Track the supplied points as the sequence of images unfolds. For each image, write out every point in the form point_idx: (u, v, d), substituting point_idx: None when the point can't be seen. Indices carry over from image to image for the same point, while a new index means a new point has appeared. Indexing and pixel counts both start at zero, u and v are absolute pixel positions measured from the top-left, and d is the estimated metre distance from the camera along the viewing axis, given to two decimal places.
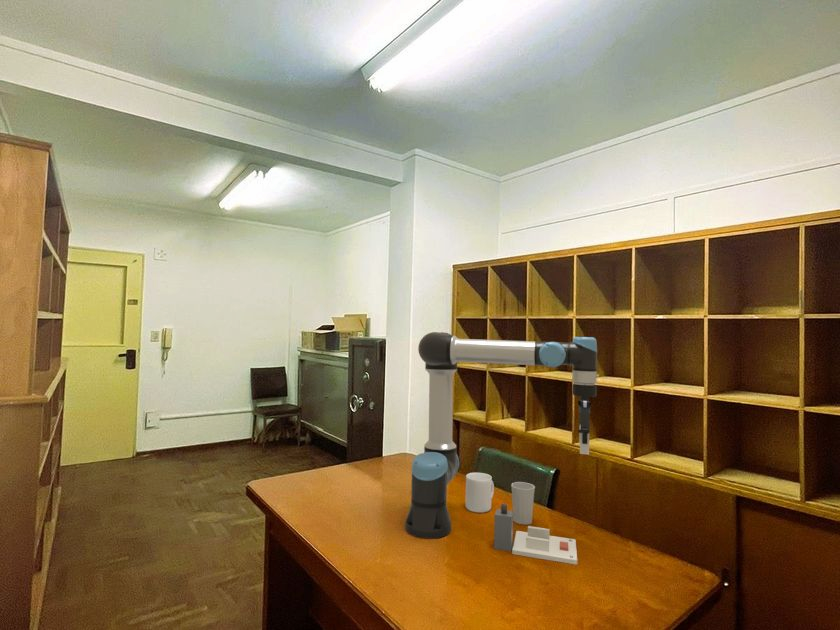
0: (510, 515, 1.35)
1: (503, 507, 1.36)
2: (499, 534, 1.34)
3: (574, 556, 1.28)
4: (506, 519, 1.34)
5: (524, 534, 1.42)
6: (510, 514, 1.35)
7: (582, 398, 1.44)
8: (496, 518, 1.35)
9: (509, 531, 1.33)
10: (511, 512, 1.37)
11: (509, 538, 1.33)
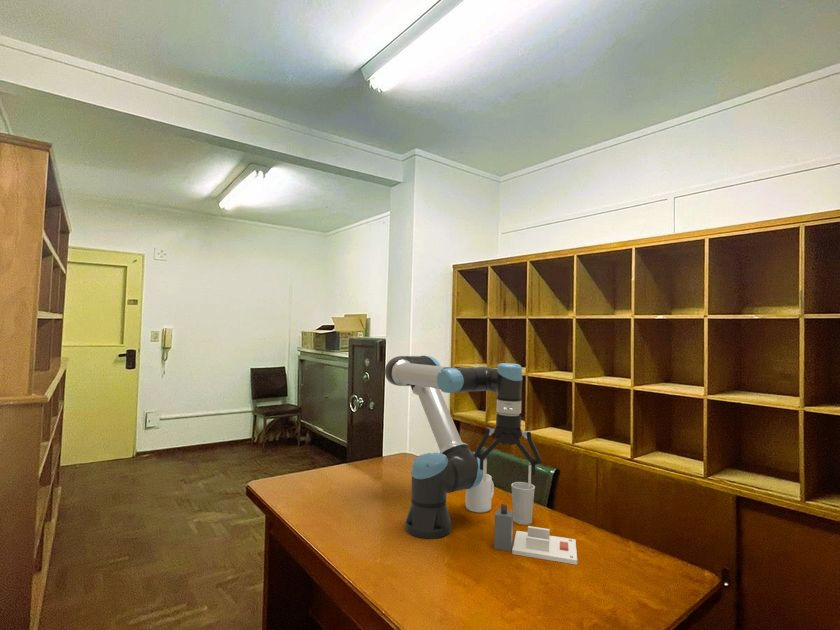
0: (510, 515, 1.35)
1: (503, 507, 1.36)
2: (499, 534, 1.34)
3: (574, 556, 1.28)
4: (506, 519, 1.34)
5: (524, 534, 1.42)
6: (510, 514, 1.35)
7: None
8: (496, 518, 1.35)
9: (509, 531, 1.33)
10: (511, 512, 1.37)
11: (509, 538, 1.33)
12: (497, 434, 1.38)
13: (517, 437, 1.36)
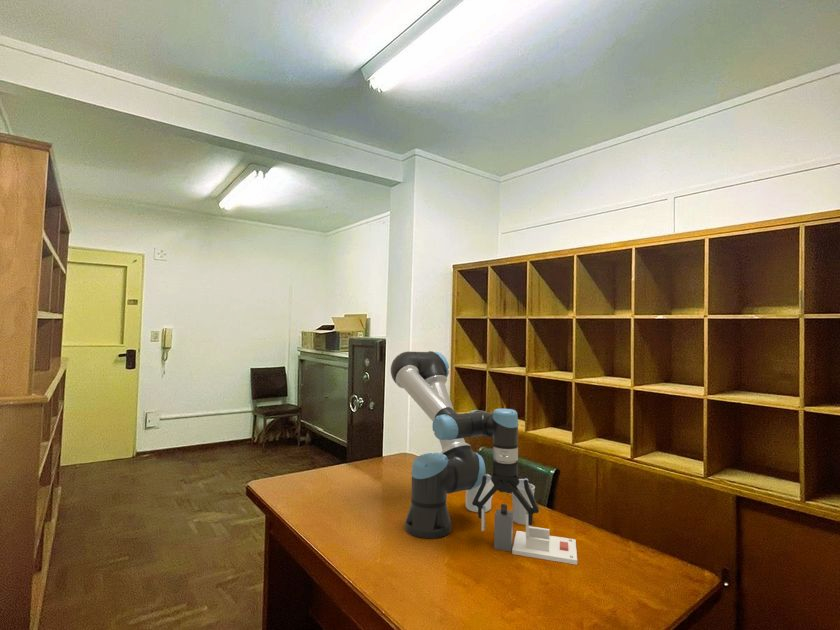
0: (510, 515, 1.35)
1: (503, 507, 1.36)
2: (499, 534, 1.34)
3: (574, 556, 1.28)
4: (506, 519, 1.34)
5: (524, 534, 1.42)
6: (510, 514, 1.35)
7: None
8: (496, 518, 1.35)
9: (509, 531, 1.33)
10: (511, 512, 1.37)
11: (509, 538, 1.33)
12: (494, 481, 1.37)
13: (514, 485, 1.35)
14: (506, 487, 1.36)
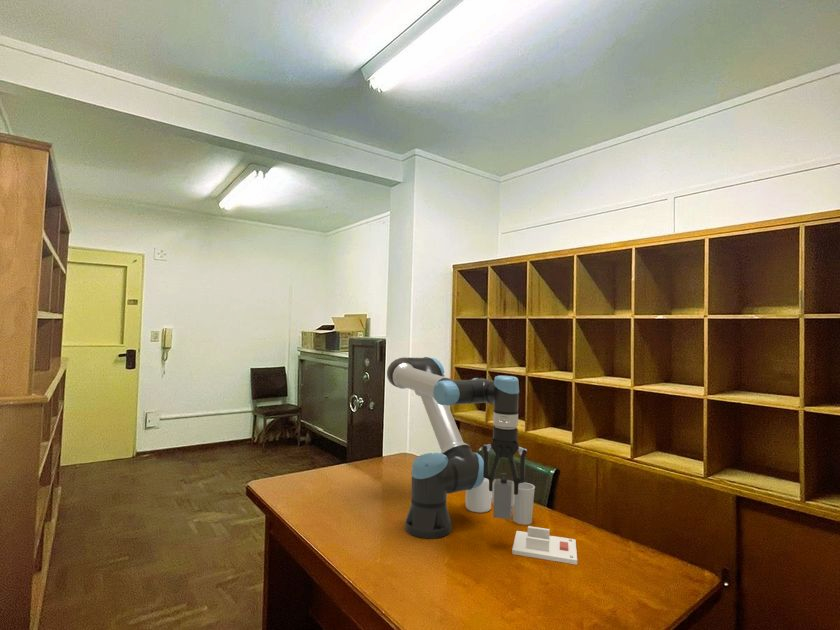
0: (510, 484, 1.35)
1: (503, 476, 1.36)
2: (499, 502, 1.35)
3: (574, 556, 1.28)
4: (506, 488, 1.34)
5: (524, 534, 1.42)
6: (510, 483, 1.36)
7: None
8: (496, 487, 1.35)
9: (508, 499, 1.34)
10: (511, 481, 1.38)
11: (508, 506, 1.34)
12: (494, 447, 1.37)
13: (513, 450, 1.36)
14: (505, 452, 1.36)
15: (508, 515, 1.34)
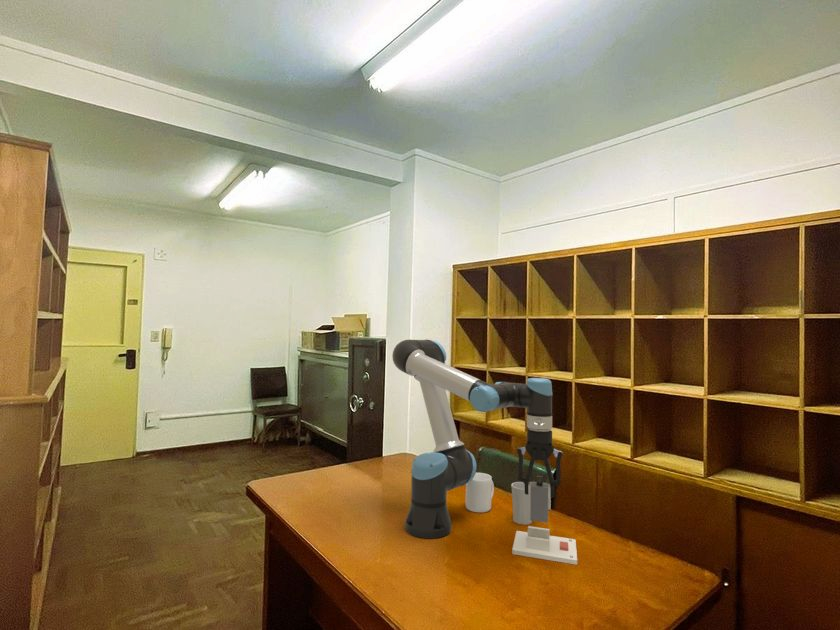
0: (546, 486, 1.35)
1: (539, 479, 1.36)
2: (535, 505, 1.34)
3: (574, 556, 1.28)
4: (543, 491, 1.34)
5: (524, 534, 1.42)
6: (546, 486, 1.35)
7: None
8: (532, 489, 1.35)
9: (545, 502, 1.33)
10: (546, 484, 1.37)
11: (546, 509, 1.33)
12: (528, 450, 1.37)
13: (549, 453, 1.35)
14: (541, 455, 1.36)
15: (545, 518, 1.33)
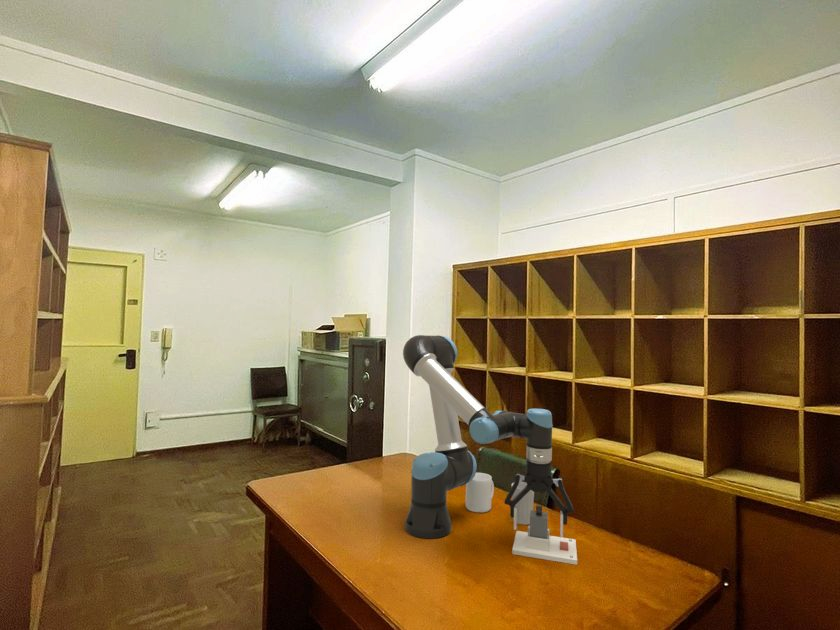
0: (545, 517, 1.34)
1: (538, 508, 1.35)
2: (535, 536, 1.34)
3: (574, 556, 1.28)
4: (542, 521, 1.33)
5: (524, 534, 1.42)
6: (545, 515, 1.35)
7: None
8: (531, 520, 1.34)
9: (545, 533, 1.33)
10: (546, 513, 1.37)
11: None
12: (527, 481, 1.37)
13: (548, 485, 1.35)
14: (540, 487, 1.36)
15: None
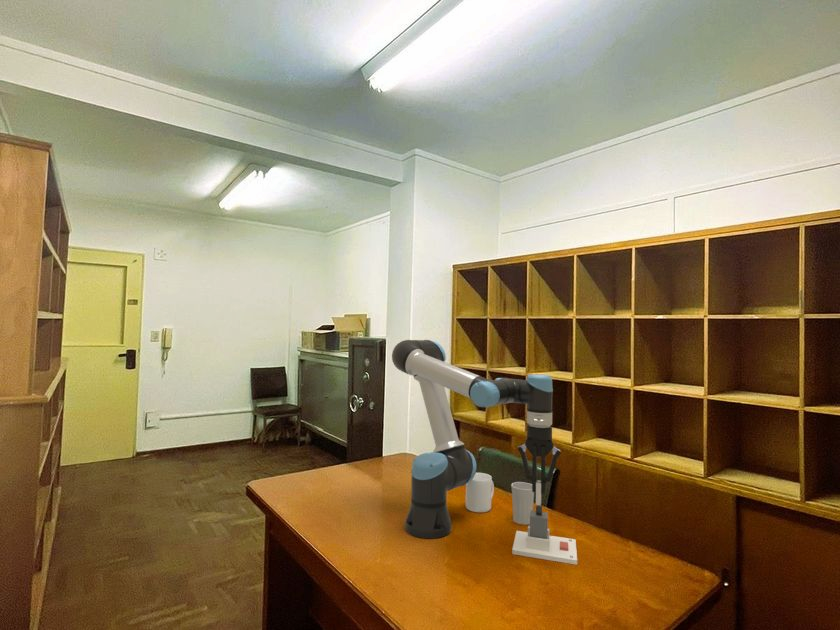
0: (545, 516, 1.34)
1: (538, 508, 1.35)
2: (535, 536, 1.34)
3: (574, 556, 1.28)
4: (542, 521, 1.33)
5: (524, 534, 1.42)
6: (545, 515, 1.35)
7: None
8: (531, 520, 1.34)
9: (545, 533, 1.33)
10: (546, 513, 1.37)
11: None
12: (528, 446, 1.37)
13: (548, 449, 1.35)
14: (540, 451, 1.36)
15: None
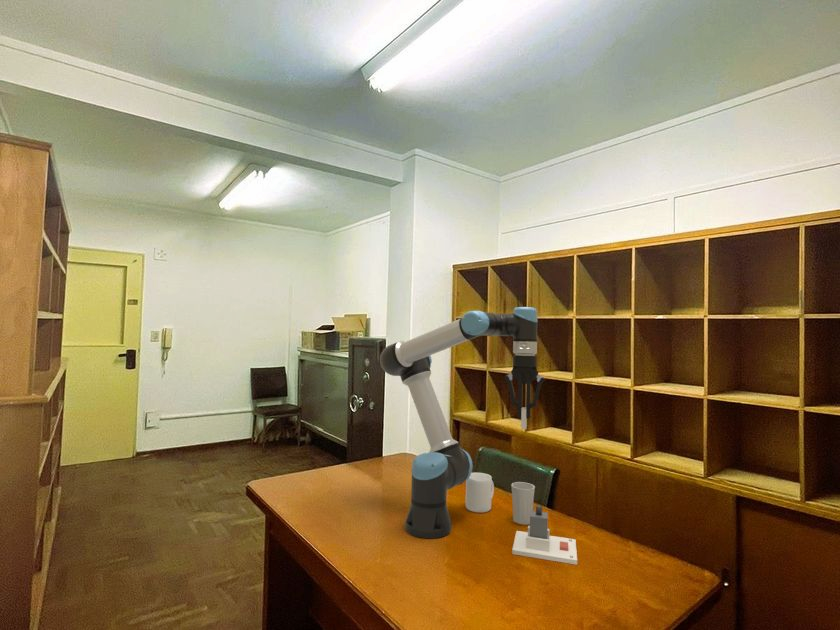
0: (545, 517, 1.34)
1: (538, 508, 1.35)
2: (535, 536, 1.34)
3: (574, 556, 1.28)
4: (542, 521, 1.33)
5: (524, 534, 1.42)
6: (545, 515, 1.35)
7: None
8: (531, 520, 1.34)
9: (545, 533, 1.33)
10: (546, 513, 1.37)
11: None
12: (514, 374, 1.45)
13: (533, 376, 1.43)
14: (525, 379, 1.43)
15: None
